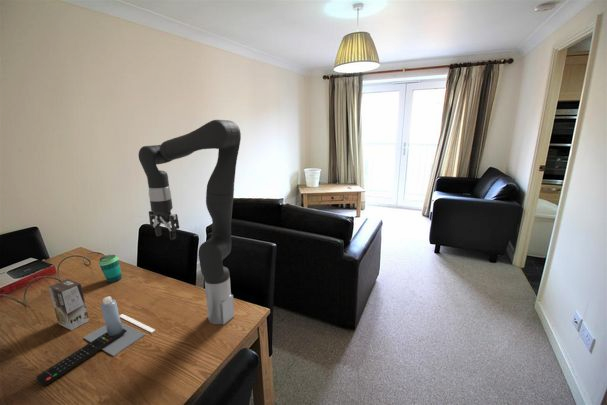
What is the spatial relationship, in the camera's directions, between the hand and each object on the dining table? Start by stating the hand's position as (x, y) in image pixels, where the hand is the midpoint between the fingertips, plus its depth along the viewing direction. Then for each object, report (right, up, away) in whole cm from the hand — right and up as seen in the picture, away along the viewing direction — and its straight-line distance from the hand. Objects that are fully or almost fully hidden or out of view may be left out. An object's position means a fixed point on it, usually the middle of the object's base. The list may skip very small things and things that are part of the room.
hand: (166, 237), depth 112 cm
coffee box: (-33, -32, -4) cm, 47 cm away
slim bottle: (-12, -32, -12) cm, 36 cm away
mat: (-13, -34, -12) cm, 38 cm away
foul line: (-9, -32, -5) cm, 34 cm away
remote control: (-16, -36, -20) cm, 44 cm away
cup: (-39, -24, +26) cm, 53 cm away
